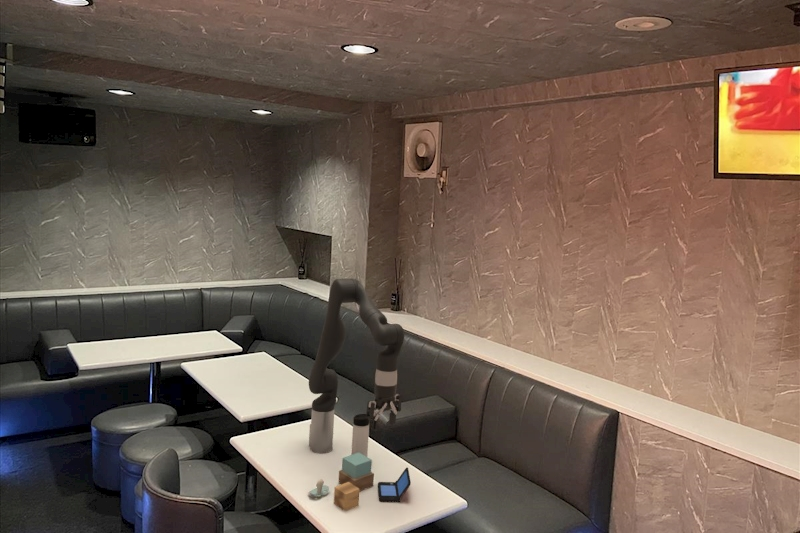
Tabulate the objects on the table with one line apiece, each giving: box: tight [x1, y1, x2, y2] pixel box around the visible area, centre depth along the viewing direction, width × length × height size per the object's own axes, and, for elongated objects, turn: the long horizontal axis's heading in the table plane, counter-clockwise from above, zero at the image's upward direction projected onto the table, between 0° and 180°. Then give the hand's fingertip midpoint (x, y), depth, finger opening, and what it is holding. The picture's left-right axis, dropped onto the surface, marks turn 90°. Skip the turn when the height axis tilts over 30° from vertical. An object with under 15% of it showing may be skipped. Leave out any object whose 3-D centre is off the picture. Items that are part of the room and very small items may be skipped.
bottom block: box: [338, 469, 375, 492], centre depth 204 cm, size 9×9×5 cm
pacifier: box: [307, 478, 330, 498], centre depth 195 cm, size 7×6×6 cm
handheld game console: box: [377, 467, 412, 503], centre depth 199 cm, size 12×11×7 cm
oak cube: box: [333, 482, 361, 512], centre depth 190 cm, size 6×6×6 cm
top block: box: [341, 452, 373, 479], centre depth 204 cm, size 8×8×5 cm
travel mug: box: [350, 413, 370, 457], centre depth 219 cm, size 6×7×20 cm
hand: (382, 427), depth 194 cm, fingers open, 8 cm apart
